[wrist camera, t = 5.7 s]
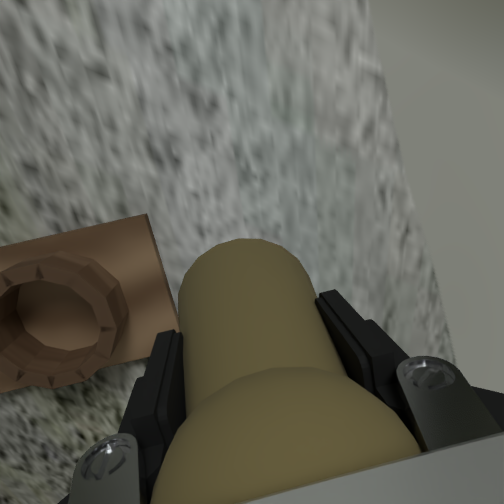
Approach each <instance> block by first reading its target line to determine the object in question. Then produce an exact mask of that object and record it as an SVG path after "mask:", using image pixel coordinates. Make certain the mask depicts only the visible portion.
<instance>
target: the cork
mask: <svg viewBox="0 0 504 504" xmlns="http://www.w3.org/2000/svg"><path fill="white" fill-rule="evenodd" d="M315 298H317V296H316V293H315V291H314V288H313V285H312V283H311V280H310V278H309V275H308V274H307V272H306V271H305V269H304V268H303V266H302V264H301V263H300V261H299V260H298V259H297V258H296V257H295V256H294V255H292V254H291V253H290V252H288V251H287V250H286V249H285V248H283V247H282V246H280V245H277V244H274V243H271V242H268V241H265V240H262V239H235V240H232V241H228V242H225V243H222V244H218V245H216V246H214V247H213V248H211V249H210V250H209V251H207V252H206V253H204V254H203V255H201V256H200V257H198V258H197V260H196V261H195V262H194V264H193V265H192V266H191V267H190V269H189V270H188V271H187V272H186V274H185V276H184V279H183V282H182V284H181V287H180V290H179V293H178V316H179V330H180V332H182V334H183V368H184V389H185V409H186V420H185V421H184V422H183V424H182V425H181V426H180V427H179V428H178V430H177V432H176V434H175V436H174V438H173V440H172V442H171V444H170V446H169V448H168V451H167V453H166V455H165V458H164V461H163V463H162V466H161V469H160V471H159V474H158V476H157V479H156V482H155V484H154V487H153V492H152V497H151V502H150V504H236V503H239V502H243V501H247V500H250V499H254V498H257V497H261V496H265V495H268V494H272V493H276V492H279V491H283V490H287V489H290V488H294V487H298V486H301V485H305V484H309V483H312V482H316V481H320V480H323V479H327V478H331V477H334V476H338V475H342V474H345V473H349V472H353V471H356V470H360V469H364V468H368V467H371V466H375V465H379V464H383V463H386V462H390V461H394V460H398V459H401V458H405V457H409V456H413V455H416V454H420V453H423V451H422V450H421V448H420V446H419V445H418V443H417V442H416V440H415V439H414V437H413V436H412V434H411V433H410V432H409V430H408V429H407V428H406V426H405V425H404V424H403V422H402V421H401V420H400V418H399V417H398V415H397V414H396V413H395V412H394V411H393V410H392V409H391V408H389V407H388V406H387V405H386V404H384V403H383V402H382V401H381V400H379V399H378V398H377V397H376V396H374V395H373V394H371V393H370V392H369V391H367V390H366V389H364V388H363V387H361V386H360V385H359V384H357V383H356V382H354V381H353V380H351V379H350V378H348V375H347V373H346V370H345V368H344V365H343V362H342V360H341V358H340V356H339V353H338V351H337V349H336V347H335V345H334V343H333V341H332V338H331V336H330V334H329V332H328V330H327V328H326V326H325V324H324V321H323V319H322V317H321V315H320V313H319V311H318V309H317V307H316V304H315Z"/></svg>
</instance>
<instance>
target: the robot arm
mask: <svg viewBox="0 0 504 504" xmlns="http://www.w3.org/2000/svg"><path fill="white" fill-rule="evenodd" d="M315 304H316V307H317V309H318V311H319V313H320V315H321V317H322V319H323V321H324V324H325V326H326V328H327V330H328V332H329V334H330V336H331V338H332V341H333V343H334V345H335V347H336V349H337V351H338V353H339V356H340V358H341V360H342V362H343V365H344V368H345V370H346V373H347V375H348V378H350V379H351V380H353V381H354V382H356V383H357V384H359V385H360V386H361V387H363V388H364V389H366V390H367V391H369V392H370V393H371V394H373V395H374V396H376V397H377V398H378V399H379V400H381V401H382V402H383V403H384V404H386V405H387V406H388V407H389V408H391V409H392V410H393V411H394V412H395V413H396V414H397V415H398V417H399V418H400V420H401V421H402V422H403V424H404V425H405V426H406V428H407V429H408V430H409V432H410V433H411V434H412V436H413V437H414V439H415V440H416V442H417V443H418V445H419V446H420V448H421V450H422V451H423V453H420V454H416V455H413V456H409V457H405V458H401V459H398V460H394V461H390V462H386V463H383V464H379V465H375V466H371V467H368V468H364V469H360V470H356V471H353V472H349V473H345V474H342V475H338V476H334V477H331V478H327V479H323V480H320V481H316V482H312V483H309V484H305V485H301V486H298V487H294V488H290V489H287V490H283V491H279V492H276V493H272V494H268V495H265V496H261V497H257V498H254V499H250V500H247V501H243V502H239V503H236V504H504V394H503V393H499V392H494V391H490V390H486V389H482V388H477V387H473V386H471V385H470V384H469V383H468V381H467V380H466V378H465V377H464V376H463V374H462V373H461V371H460V370H459V369H458V368H457V367H456V366H455V365H454V364H452V363H450V362H448V361H447V360H444V359H441V358H438V357H432V356H416V357H411V358H410V357H409V356H408V355H407V354H406V353H405V352H404V351H403V350H402V349H401V348H400V347H399V346H398V345H397V344H396V343H395V342H394V341H393V340H392V339H391V338H390V337H389V336H388V335H387V334H386V333H385V332H384V331H383V330H382V329H381V328H380V327H379V326H378V325H377V324H376V323H375V322H374V321H373V320H372V319H369V320H364V319H363V318H362V317H361V316H360V315H359V314H358V313H357V312H356V311H355V310H354V309H353V307H352V306H351V305H350V304H349V303H348V302H347V301H346V300H345V299H344V298H343V297H342V296H341V295H340V293H339V292H338V291H337V290H335V289H334V290H330V291H326V292H322V293H319V298H315ZM185 420H186V409H185V389H184V368H183V334H182V332H178V333H176V331H175V330H174V329H172V330H168V331H164V332H160V333H157V335H156V339H155V342H154V345H153V348H152V351H151V354H150V358H149V361H148V364H147V367H146V370H145V373H144V376H143V377H139V378H137V380H136V382H135V384H134V387H133V390H132V393H131V396H130V399H129V402H128V405H127V408H126V410H125V413H124V416H123V419H122V422H121V425H120V428H119V431H118V434H114V435H111V436H108V437H106V438H104V439H102V440H100V441H98V442H97V443H96V444H94V445H93V446H92V447H90V448H89V449H88V450H87V451H86V452H85V453H84V454H83V455H82V457H81V458H80V460H79V461H78V463H77V464H76V467H75V470H74V473H73V478H72V484H71V489H70V493H69V494H68V495H67V496H66V497H65V498H64V499H62V500H61V501H60V502H59V503H58V504H150V502H151V497H152V492H153V487H154V484H155V482H156V479H157V476H158V474H159V471H160V469H161V466H162V463H163V461H164V458H165V455H166V453H167V451H168V448H169V446H170V444H171V442H172V440H173V438H174V436H175V434H176V432H177V430H178V428H179V427H180V426H181V425H182V424H183V422H184V421H185Z"/></svg>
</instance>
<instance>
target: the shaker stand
mask: <svg viewBox="0 0 504 504" xmlns="http://www.w3.org/2000/svg"><path fill="white" fill-rule="evenodd" d="M172 329H174V330H175V331H176V333H178V332H180V330H179V317H178V314H177V311H176V307H175V304H174V301H173V298H172V294H171V291H170V288H169V284H168V281H167V278H166V275H165V271H164V268H163V265H162V261H161V258H160V255H159V251H158V248H157V245H156V242H155V238H154V235H153V232H152V228H151V225H150V222H149V218H148V215H147V214H142V215H138V216H133V217H129V218H125V219H120V220H116V221H112V222H107V223H103V224H98V225H94V226H90V227H85V228H81V229H77V230H72V231H68V232H63V233H59V234H55V235H50V236H46V237H42V238H37V239H33V240H28V241H24V242H20V243H15V244H11V245H6V246H2V247H0V393H3V392H7V391H11V390H16V389H20V388H24V387H28V386H32V385H33V386H39V387H44V388H49V389H55V388H59V387H63V386H67V385H71V384H75V383H79V382H83V381H86V380H87V379H88V378H90V377H91V376H92V375H93V374H94V373H95V372H96V371H97V370H98V369H101V368H105V367H109V366H113V365H117V364H121V363H125V362H129V361H133V360H137V359H142V358H146V357H150V354H151V351H152V348H153V345H154V342H155V339H156V335H157V333H160V332H164V331H168V330H172Z"/></svg>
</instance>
